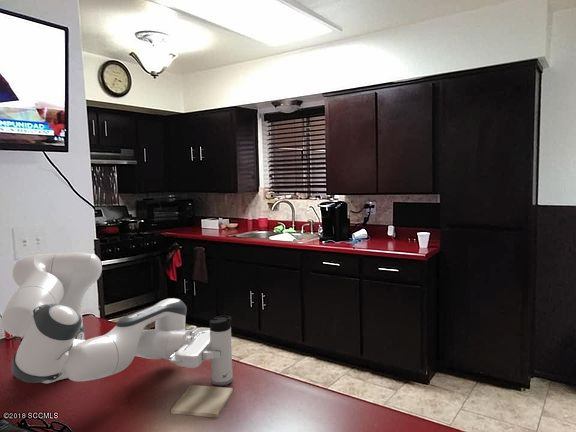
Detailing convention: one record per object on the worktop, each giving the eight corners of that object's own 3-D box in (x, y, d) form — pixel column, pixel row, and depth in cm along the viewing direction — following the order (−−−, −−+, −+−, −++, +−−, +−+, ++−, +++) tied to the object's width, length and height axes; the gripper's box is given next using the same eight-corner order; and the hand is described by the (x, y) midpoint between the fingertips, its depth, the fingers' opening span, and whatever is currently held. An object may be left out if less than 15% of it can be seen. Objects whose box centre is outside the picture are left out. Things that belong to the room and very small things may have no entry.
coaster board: (171, 413, 112) (171, 409, 112) (190, 388, 125) (190, 384, 125) (217, 417, 110) (217, 413, 110) (232, 391, 122) (232, 388, 122)
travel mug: (229, 386, 124) (227, 321, 122) (208, 384, 125) (206, 320, 123) (236, 376, 130) (234, 314, 128) (216, 374, 131) (213, 313, 129)
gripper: (165, 350, 118) (211, 353, 116) (193, 323, 138) (234, 325, 136) (166, 372, 119) (212, 375, 117) (194, 341, 139) (234, 344, 137)
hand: (224, 348), depth 126 cm, fingers closed on travel mug, 6 cm apart
